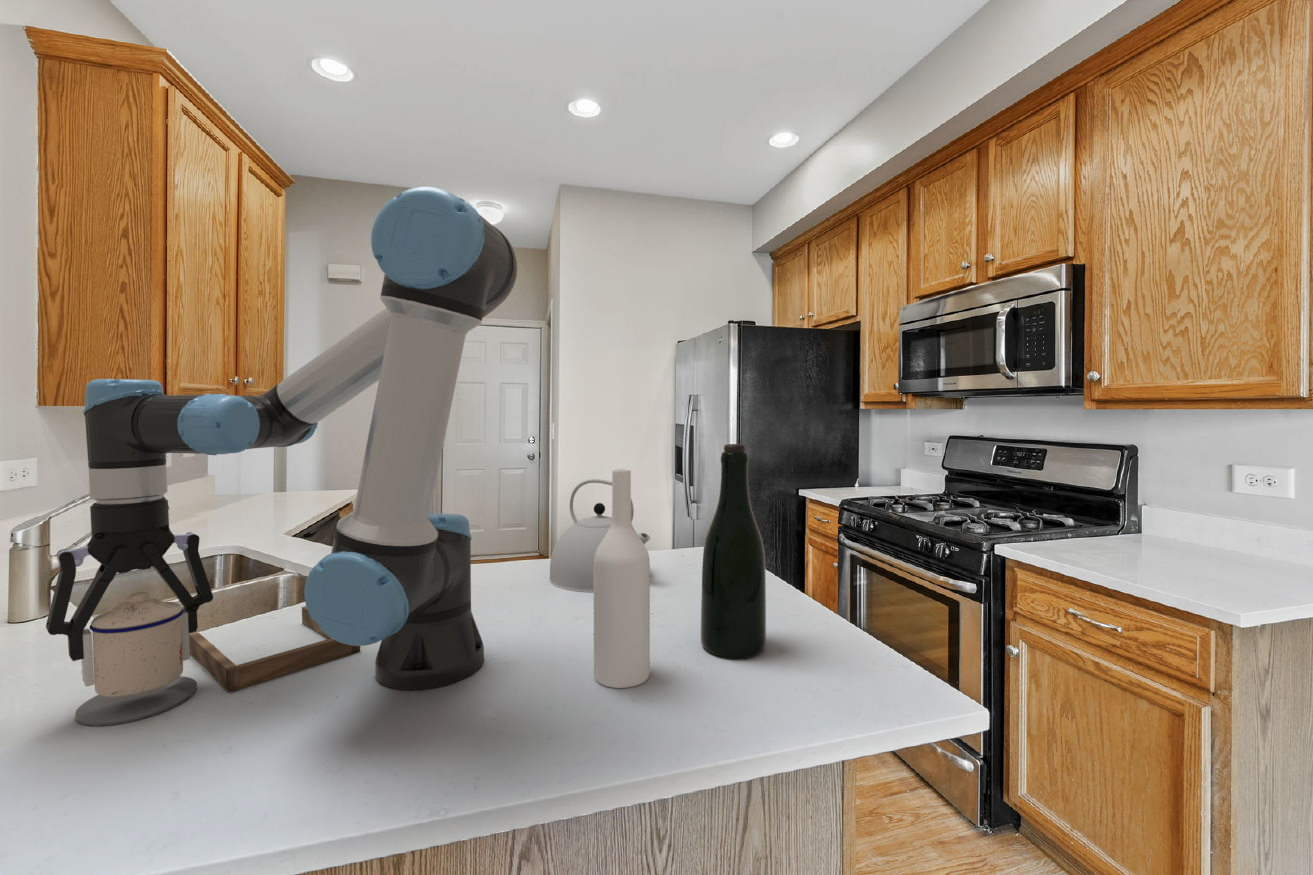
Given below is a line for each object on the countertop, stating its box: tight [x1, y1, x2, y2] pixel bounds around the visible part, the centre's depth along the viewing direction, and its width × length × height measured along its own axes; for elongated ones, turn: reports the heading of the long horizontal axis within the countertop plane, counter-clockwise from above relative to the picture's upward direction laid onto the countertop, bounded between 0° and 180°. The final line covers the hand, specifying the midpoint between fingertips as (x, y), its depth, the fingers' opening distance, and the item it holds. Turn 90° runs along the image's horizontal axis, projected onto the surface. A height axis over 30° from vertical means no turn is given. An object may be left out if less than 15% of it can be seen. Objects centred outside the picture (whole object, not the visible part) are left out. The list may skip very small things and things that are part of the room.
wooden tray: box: [189, 605, 361, 693], centre depth 93 cm, size 20×17×3 cm
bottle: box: [593, 468, 651, 689], centre depth 84 cm, size 8×8×30 cm
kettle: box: [549, 478, 651, 594], centre depth 133 cm, size 25×23×22 cm
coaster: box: [74, 675, 198, 727], centre depth 77 cm, size 12×12×1 cm
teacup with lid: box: [89, 591, 184, 697], centre depth 77 cm, size 12×9×12 cm
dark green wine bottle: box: [700, 443, 767, 659], centre depth 94 cm, size 10×10×33 cm
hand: (138, 669), depth 77 cm, fingers open, 9 cm apart
